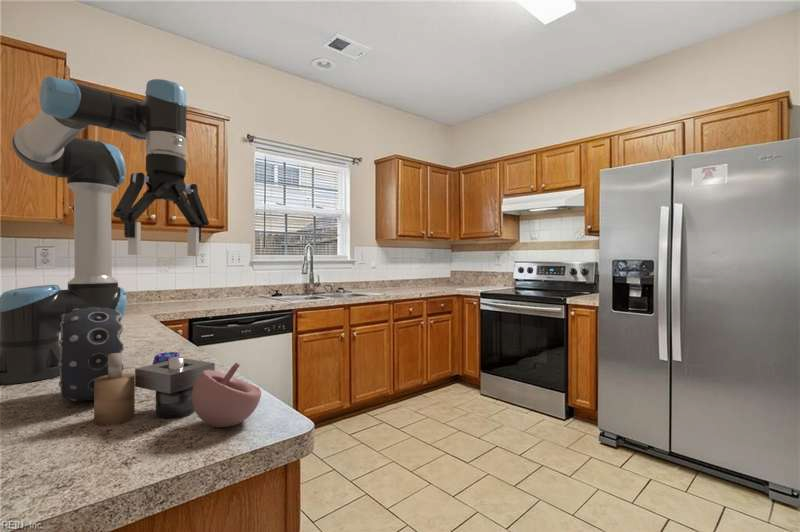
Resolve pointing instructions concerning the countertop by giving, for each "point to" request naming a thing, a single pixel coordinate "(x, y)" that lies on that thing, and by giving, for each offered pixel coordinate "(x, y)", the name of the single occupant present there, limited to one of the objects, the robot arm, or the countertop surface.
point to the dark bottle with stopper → (174, 397)
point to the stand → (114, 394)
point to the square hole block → (170, 376)
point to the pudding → (164, 357)
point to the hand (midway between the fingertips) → (165, 255)
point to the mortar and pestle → (224, 398)
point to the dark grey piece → (87, 349)
